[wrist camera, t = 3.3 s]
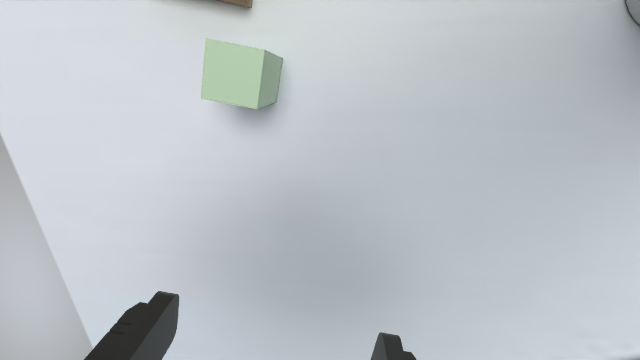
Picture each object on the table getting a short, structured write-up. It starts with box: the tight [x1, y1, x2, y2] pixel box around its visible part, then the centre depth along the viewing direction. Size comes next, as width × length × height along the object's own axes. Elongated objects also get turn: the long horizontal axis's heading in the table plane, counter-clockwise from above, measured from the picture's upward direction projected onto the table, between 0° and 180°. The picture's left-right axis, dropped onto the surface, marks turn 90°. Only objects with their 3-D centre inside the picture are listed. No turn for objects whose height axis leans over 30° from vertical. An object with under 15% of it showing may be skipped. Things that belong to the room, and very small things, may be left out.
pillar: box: [201, 38, 283, 109], centre depth 31 cm, size 4×4×10 cm
